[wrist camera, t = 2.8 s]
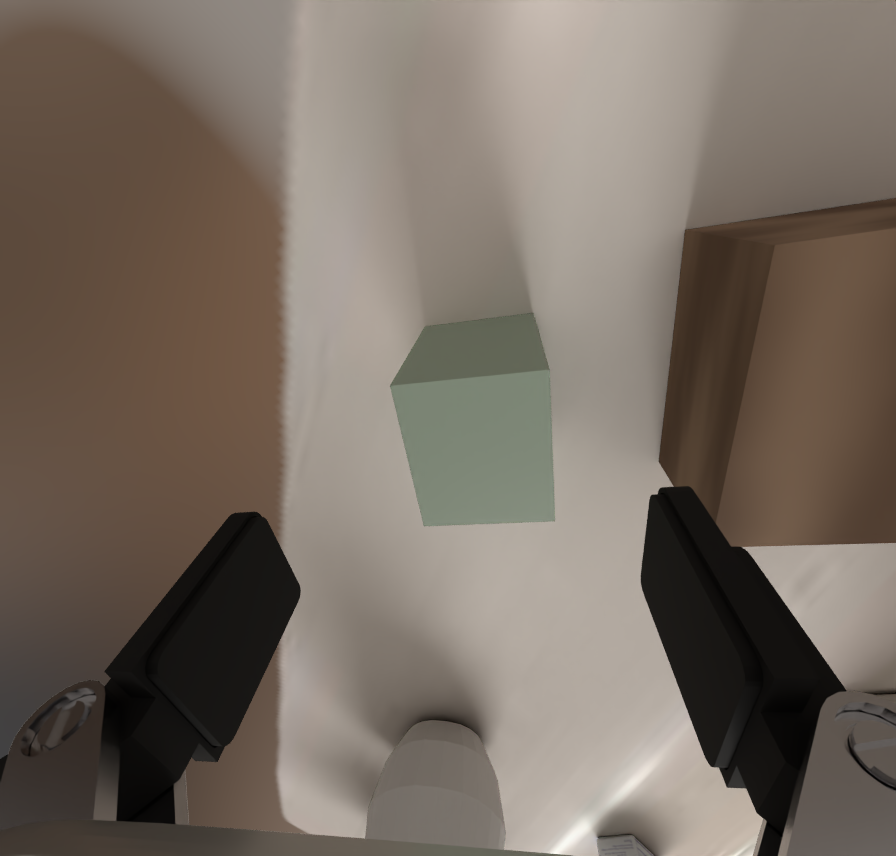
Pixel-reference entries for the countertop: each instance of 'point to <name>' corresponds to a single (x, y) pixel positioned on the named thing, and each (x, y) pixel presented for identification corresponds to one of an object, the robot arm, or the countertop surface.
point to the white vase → (438, 790)
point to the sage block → (478, 422)
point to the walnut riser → (788, 377)
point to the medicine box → (621, 846)
